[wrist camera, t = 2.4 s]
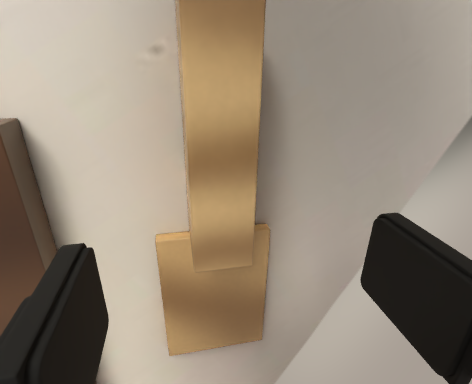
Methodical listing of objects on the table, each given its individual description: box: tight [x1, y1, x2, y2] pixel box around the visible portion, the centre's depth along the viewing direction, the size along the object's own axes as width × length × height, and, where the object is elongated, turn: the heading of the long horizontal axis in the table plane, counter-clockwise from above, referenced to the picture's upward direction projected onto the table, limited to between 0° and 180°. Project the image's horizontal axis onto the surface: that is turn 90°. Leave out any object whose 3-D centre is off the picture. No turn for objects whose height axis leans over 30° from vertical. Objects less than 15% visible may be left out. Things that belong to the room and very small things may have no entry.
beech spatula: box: [155, 0, 270, 356], centre depth 16 cm, size 22×7×4 cm, turn 179°
